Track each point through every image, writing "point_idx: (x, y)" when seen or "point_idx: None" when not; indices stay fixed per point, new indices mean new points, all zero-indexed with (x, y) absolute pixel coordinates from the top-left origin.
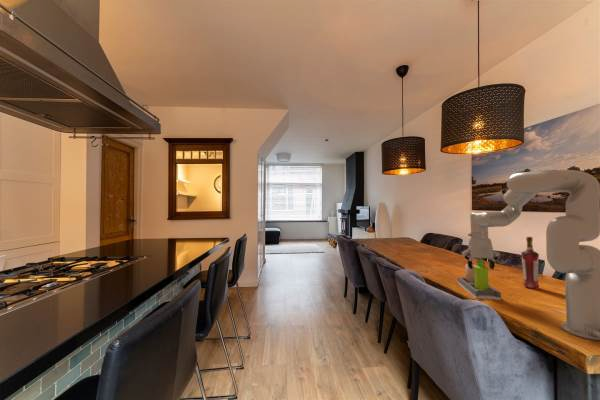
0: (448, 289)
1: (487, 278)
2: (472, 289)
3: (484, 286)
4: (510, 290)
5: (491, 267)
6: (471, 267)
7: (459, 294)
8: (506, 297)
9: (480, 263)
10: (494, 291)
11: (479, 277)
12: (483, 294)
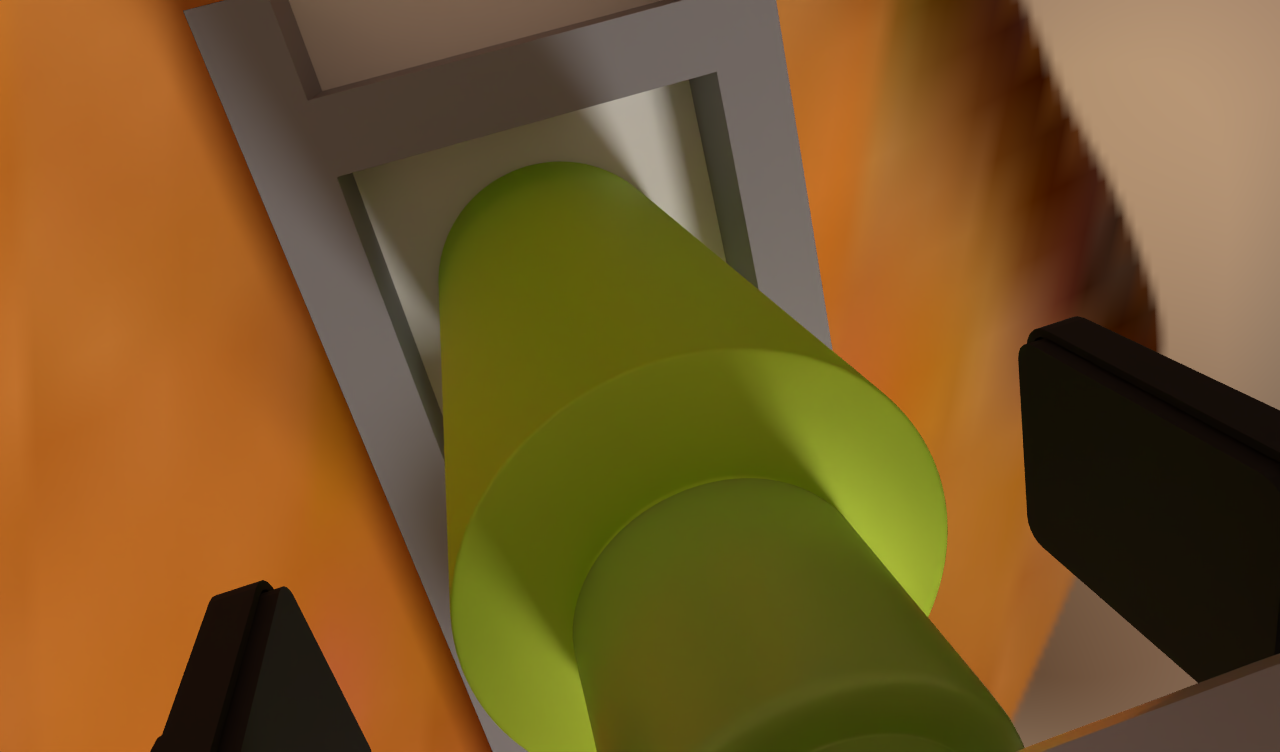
0: (1070, 283)
1: (470, 317)
2: (781, 65)
3: (538, 199)
4: (56, 740)
5: (297, 667)
6: (1093, 334)
7: (952, 40)
8: (120, 248)
9: (826, 563)
10: (328, 94)
11: (696, 252)
12: (558, 26)
